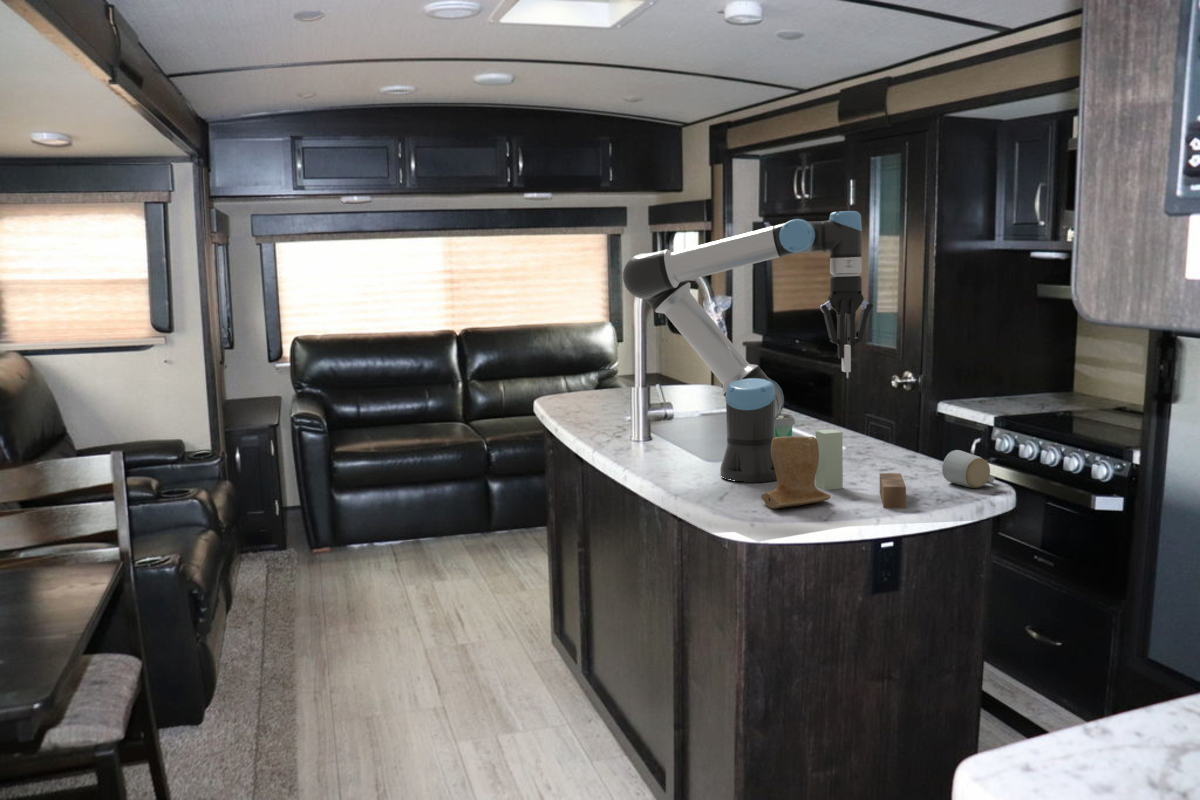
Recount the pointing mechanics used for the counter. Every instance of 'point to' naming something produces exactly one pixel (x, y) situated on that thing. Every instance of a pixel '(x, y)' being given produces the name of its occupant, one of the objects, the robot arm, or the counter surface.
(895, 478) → the walnut block
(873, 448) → the counter surface
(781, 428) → the food container
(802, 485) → the cork flared stand
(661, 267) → the robot arm
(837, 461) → the sage block
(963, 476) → the ceramic mug
